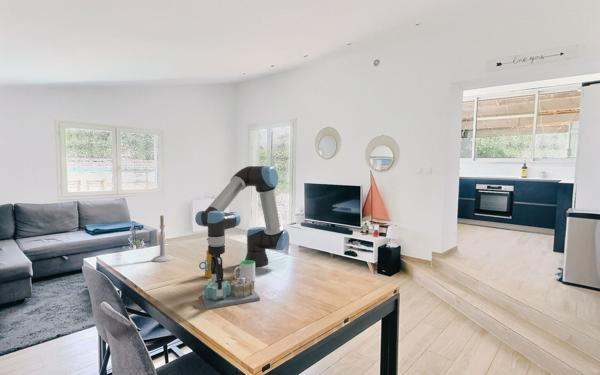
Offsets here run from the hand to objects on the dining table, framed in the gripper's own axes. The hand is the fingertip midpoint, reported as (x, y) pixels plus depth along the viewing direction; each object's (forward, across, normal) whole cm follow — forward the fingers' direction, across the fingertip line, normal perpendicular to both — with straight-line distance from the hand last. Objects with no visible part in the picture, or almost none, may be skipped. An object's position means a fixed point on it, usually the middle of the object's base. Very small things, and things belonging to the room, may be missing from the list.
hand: (217, 291), depth 154 cm
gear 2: (+2, 0, +12) cm, 12 cm away
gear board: (+4, 0, +6) cm, 7 cm away
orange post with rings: (+4, -36, +3) cm, 36 cm away
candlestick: (+4, -84, -20) cm, 86 cm away
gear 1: (+2, 0, 0) cm, 2 cm away
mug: (+4, -18, +18) cm, 26 cm away
